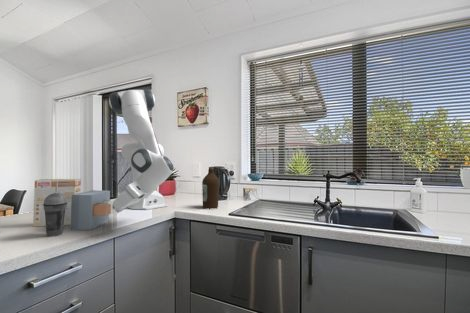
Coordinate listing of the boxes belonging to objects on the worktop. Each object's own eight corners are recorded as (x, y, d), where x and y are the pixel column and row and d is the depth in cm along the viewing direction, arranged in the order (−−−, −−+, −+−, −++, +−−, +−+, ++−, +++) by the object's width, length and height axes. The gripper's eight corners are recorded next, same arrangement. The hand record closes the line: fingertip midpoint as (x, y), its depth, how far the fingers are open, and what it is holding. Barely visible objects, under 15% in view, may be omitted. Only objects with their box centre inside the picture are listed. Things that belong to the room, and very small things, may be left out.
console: (109, 220, 106) (110, 190, 106) (90, 229, 92) (91, 195, 92) (91, 220, 106) (92, 190, 106) (70, 229, 92) (71, 194, 92)
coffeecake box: (80, 221, 105) (81, 178, 105) (73, 225, 98) (75, 179, 99) (41, 222, 101) (43, 178, 102) (32, 227, 94) (34, 180, 95)
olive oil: (214, 205, 148) (215, 166, 148) (221, 208, 139) (222, 167, 139) (199, 206, 143) (200, 166, 143) (205, 209, 134) (206, 167, 134)
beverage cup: (63, 230, 91) (65, 180, 91) (68, 234, 86) (70, 181, 86) (40, 234, 85) (41, 181, 86) (43, 239, 80) (45, 182, 81)
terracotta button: (110, 213, 98) (111, 203, 98) (105, 215, 94) (105, 205, 94) (96, 213, 98) (96, 203, 98) (90, 215, 94) (91, 205, 94)
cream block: (112, 209, 105) (112, 201, 105) (107, 211, 101) (107, 202, 101) (99, 209, 105) (99, 200, 105) (93, 211, 101) (94, 202, 101)
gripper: (145, 180, 107) (124, 201, 106) (125, 185, 86) (99, 210, 86) (155, 190, 107) (133, 211, 106) (137, 197, 86) (110, 222, 86)
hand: (117, 211), depth 96 cm, fingers closed
